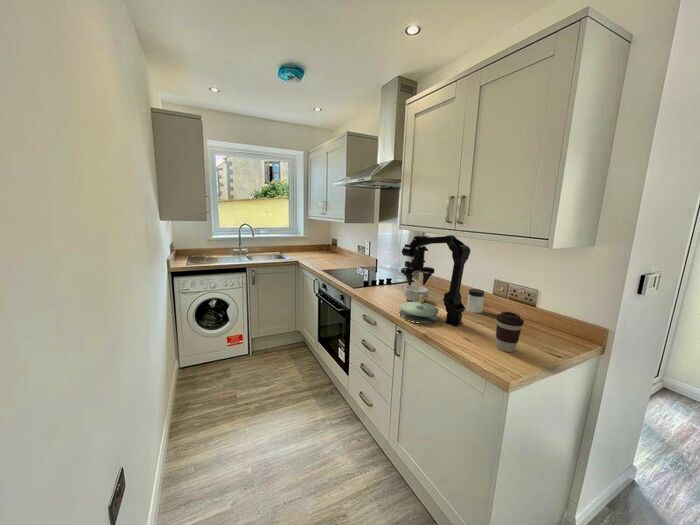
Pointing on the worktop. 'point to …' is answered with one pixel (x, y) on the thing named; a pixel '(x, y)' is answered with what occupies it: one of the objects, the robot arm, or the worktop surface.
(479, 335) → the worktop surface
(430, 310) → the handwheel
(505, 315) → the coffee cup
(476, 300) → the jar
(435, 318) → the grey metal shallow dish
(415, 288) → the paper bowls
